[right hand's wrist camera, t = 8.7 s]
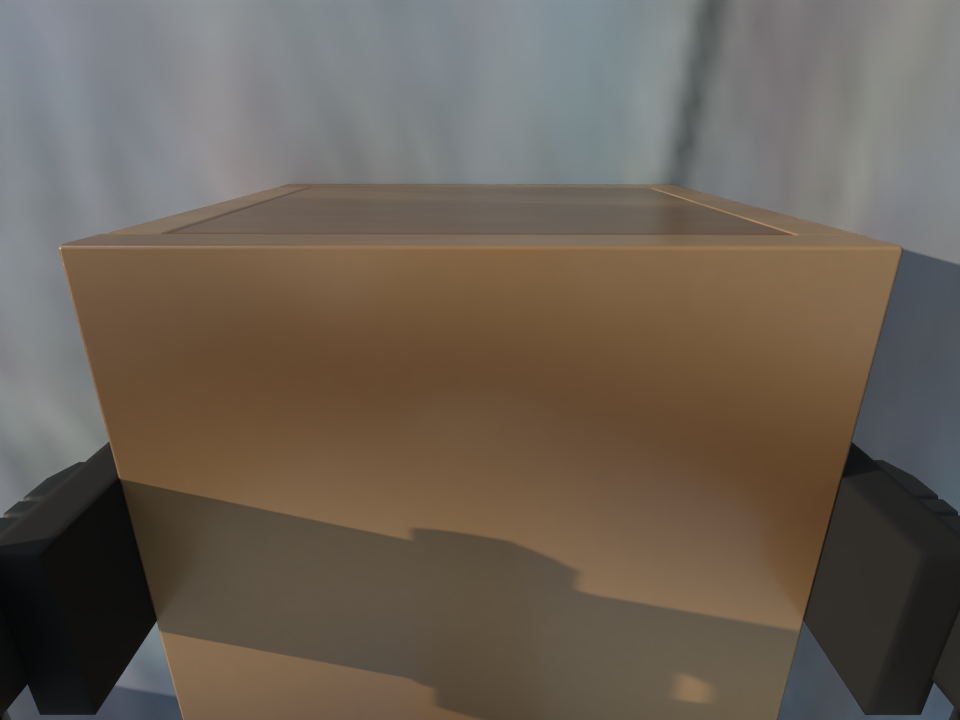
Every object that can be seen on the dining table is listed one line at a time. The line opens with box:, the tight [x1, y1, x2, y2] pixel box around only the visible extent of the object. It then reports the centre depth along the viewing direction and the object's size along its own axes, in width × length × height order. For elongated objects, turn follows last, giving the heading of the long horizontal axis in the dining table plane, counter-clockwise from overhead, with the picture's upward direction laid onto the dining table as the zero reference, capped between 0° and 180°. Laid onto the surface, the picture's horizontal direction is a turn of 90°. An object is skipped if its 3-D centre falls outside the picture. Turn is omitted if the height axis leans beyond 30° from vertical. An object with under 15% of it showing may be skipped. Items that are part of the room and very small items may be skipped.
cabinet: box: [59, 184, 903, 720], centre depth 15 cm, size 20×10×9 cm, turn 0°
